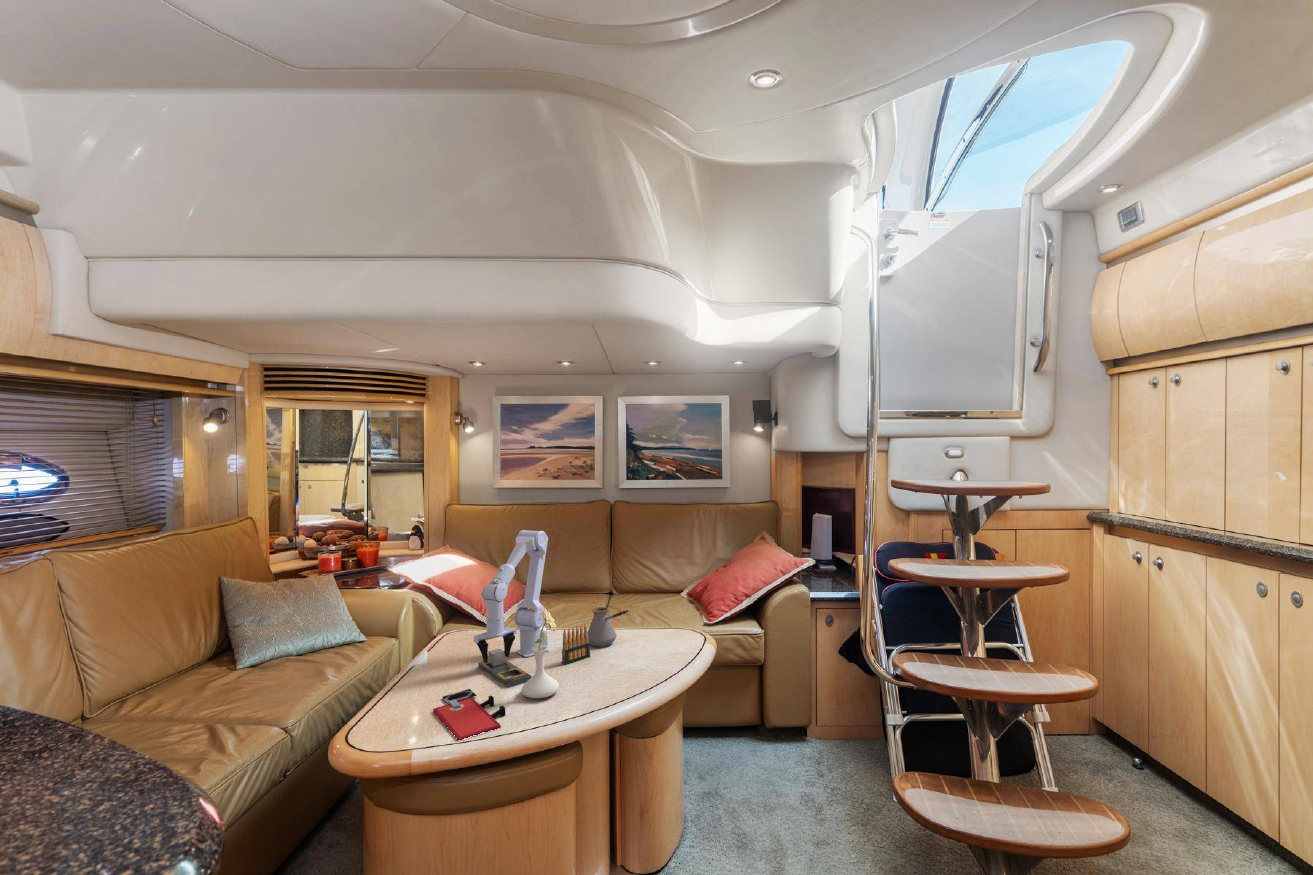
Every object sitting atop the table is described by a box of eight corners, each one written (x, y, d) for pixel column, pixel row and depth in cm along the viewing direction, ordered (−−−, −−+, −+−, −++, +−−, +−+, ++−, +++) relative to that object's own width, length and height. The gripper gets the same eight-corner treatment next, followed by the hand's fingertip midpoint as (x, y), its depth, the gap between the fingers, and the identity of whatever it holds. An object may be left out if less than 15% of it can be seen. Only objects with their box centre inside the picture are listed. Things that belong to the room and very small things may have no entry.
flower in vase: (547, 704, 174) (544, 617, 174) (513, 699, 178) (511, 615, 178) (569, 686, 186) (566, 605, 186) (537, 682, 190) (534, 603, 190)
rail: (500, 661, 210) (500, 656, 211) (531, 680, 192) (531, 675, 192) (478, 667, 206) (478, 662, 206) (508, 687, 187) (508, 682, 187)
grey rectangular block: (499, 666, 206) (499, 648, 206) (504, 669, 203) (504, 651, 203) (488, 669, 204) (488, 651, 204) (493, 672, 200) (492, 654, 201)
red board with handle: (475, 689, 186) (425, 704, 177) (475, 680, 186) (425, 695, 177) (514, 725, 162) (458, 745, 153) (513, 715, 162) (458, 734, 153)
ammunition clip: (587, 655, 213) (586, 622, 213) (590, 657, 212) (589, 623, 212) (561, 664, 206) (560, 629, 206) (565, 665, 204) (563, 630, 205)
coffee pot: (579, 644, 225) (578, 604, 226) (602, 636, 234) (601, 598, 234) (619, 656, 211) (617, 614, 211) (641, 648, 219) (640, 606, 220)
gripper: (479, 625, 196) (480, 667, 196) (520, 617, 205) (521, 657, 205) (470, 621, 201) (472, 662, 201) (511, 613, 210) (512, 651, 210)
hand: (496, 659), depth 203 cm, fingers open, 7 cm apart
